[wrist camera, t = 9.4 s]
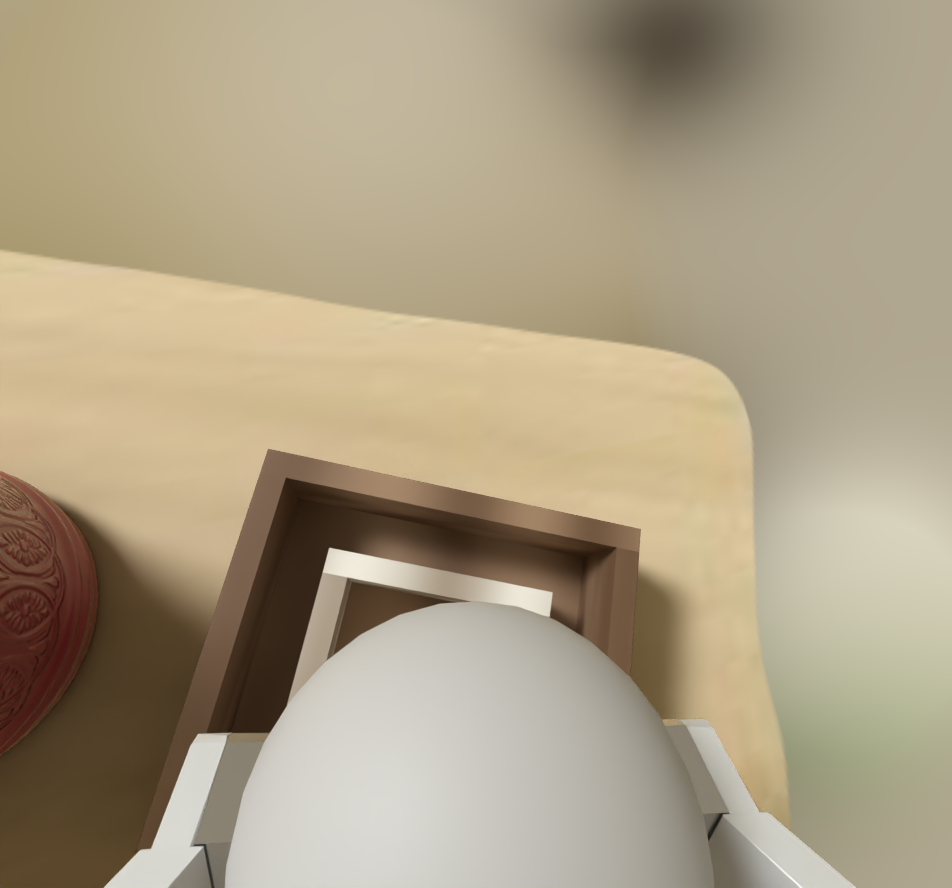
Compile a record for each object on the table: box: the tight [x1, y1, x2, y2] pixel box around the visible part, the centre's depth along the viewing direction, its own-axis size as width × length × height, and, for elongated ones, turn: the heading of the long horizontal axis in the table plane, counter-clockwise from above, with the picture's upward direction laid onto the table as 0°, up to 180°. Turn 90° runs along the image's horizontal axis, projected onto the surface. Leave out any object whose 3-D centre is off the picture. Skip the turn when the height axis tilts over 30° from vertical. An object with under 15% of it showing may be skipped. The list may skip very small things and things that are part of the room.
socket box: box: [134, 449, 641, 856], centre depth 22 cm, size 16×16×5 cm
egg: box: [225, 601, 714, 888], centre depth 10 cm, size 6×6×11 cm
